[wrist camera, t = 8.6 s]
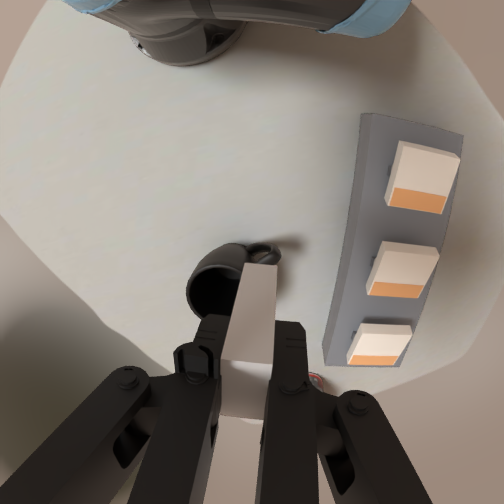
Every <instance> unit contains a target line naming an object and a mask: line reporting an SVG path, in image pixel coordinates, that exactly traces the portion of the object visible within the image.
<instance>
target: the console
mask: <svg viewBox="0 0 504 504" xmlns="http://www.w3.org/2000/svg"><path fill="white" fill-rule="evenodd" d="M399 140H400V141H405V142H410V143H414V144H419V145H423V146H427V147H432V148H436V149H440V150H444V151H448V152H451V153H455V154H456V155H457V156H458V157H459V158H461V151H462V144H463V135H460V134H457V133H453V132H450V131H446V130H443V129H439V128H435V127H432V126H428V125H424V124H420V123H416V122H412V121H407V120H403V119H398V118H394V117H389V116H384V115H379V114H374V113H366V114H361V122H360V131H359V141H358V149H357V158H356V166H355V173H354V180H353V188H352V194H351V201H350V208H349V214H348V220H347V226H346V232H345V238H344V243H343V249H342V254H341V259H340V265H339V270H338V275H337V280H336V285H335V289H334V294H333V299H332V303H331V308H330V312H329V317H328V321H327V325H326V330H325V334H324V338H323V342H322V348H323V356H324V363H325V366H346V367H400V365H401V362H402V360H403V358H404V355H405V353H406V351H407V348H408V346H409V343H410V341H411V339H410V340H409V342H408V343H407V345H406V347H405V348H404V350H403V351H402V353H401V354H400V356H399V357H398V359H397V360H396V362H395V363H394V365H349V364H347V353H348V351H349V348H350V346H351V344H352V342H353V338H354V335H355V334H356V333H357V331H358V329H359V326H360V324H361V323H365V324H386V325H410V327H411V330H412V334H413V333H414V331H415V328H416V326H417V323H418V320H419V318H420V315H421V312H422V309H423V306H424V304H425V301H426V298H427V295H428V292H429V289H430V286H431V283H432V279H433V276H434V273H435V270H436V266H437V263H438V261H437V263H436V265H435V267H434V269H433V271H432V273H431V275H430V277H429V279H428V281H427V283H426V284H425V286H424V288H423V290H422V292H421V294H420V295H419V297H418V298H404V297H389V296H374V295H367V290H366V283H367V280H368V278H369V275H370V273H371V270H372V268H373V262H374V259H375V258H376V257H377V254H378V252H379V249H380V246H381V243H382V241H387V242H396V243H404V244H413V245H421V246H429V247H436V249H437V251H438V254H439V256H440V252H441V249H442V245H443V241H444V237H445V233H446V229H447V225H448V221H449V217H450V212H451V208H452V203H453V198H454V193H455V188H456V182H457V177H458V171H459V166H458V169H457V172H456V175H455V178H454V181H453V184H452V187H451V190H450V193H449V195H448V198H447V201H446V203H445V206H444V209H443V211H442V214H437V213H431V212H425V211H419V210H413V209H407V208H400V207H394V206H387V203H386V201H385V199H384V197H385V193H386V189H387V186H388V182H389V178H390V175H391V167H392V165H393V163H394V159H395V155H396V151H397V147H398V143H399ZM459 165H460V163H459ZM412 336H413V335H412ZM411 338H412V337H411Z"/></svg>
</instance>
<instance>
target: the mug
mask: <svg viewBox="0 0 504 504" xmlns="http://www.w3.org/2000/svg"><path fill="white" fill-rule="evenodd" d="M261 252H268V254H267V255H265V256H264V257H262V258H261V259H259V260H258V261H256V262H255V261H254V259H253V257H252V256H254V255H255V254H258V253H261ZM280 259H281V252H280V250H279V249H278V247H277V246H275V245H273V244H270V243H253V244H251V245H249V246H247V247H246V248H245V247H244V246H242V245H239V244H235V243H228V244H225V245H223V246H221V247H219V248H217V249H215V250H213V251H211V252H210V253H209V254H207V255H206V256H205V257H204V258H203V259H202V260H201V261H200V262H199V263H198V265H197V266H196V268H195V270H194V271H193V273H192V275H191V277H190V279H189V280H188V283H187V287H186V297H187V301H188V304H189V306H190V308H191V310H192V311H193V312H194V313H195V315H197V316H198V317H199V318H200V319H201V320H202V319H204V318H205V317H206V316H207V315H208V314H214V315H222V316H231V315H232V311H233V307H234V303H235V299H236V296H237V292H238V288H239V284H240V280H241V276H242V272H243V268H244V264H245V263H253V264H264V265H275V264H276V263H277V262H278V261H279V260H280Z"/></svg>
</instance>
